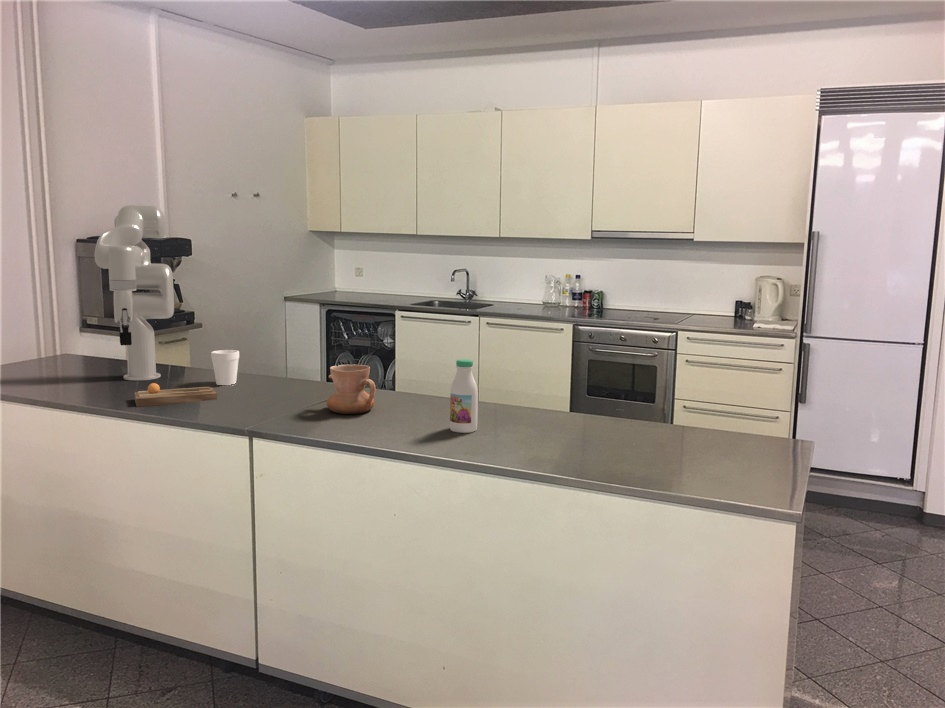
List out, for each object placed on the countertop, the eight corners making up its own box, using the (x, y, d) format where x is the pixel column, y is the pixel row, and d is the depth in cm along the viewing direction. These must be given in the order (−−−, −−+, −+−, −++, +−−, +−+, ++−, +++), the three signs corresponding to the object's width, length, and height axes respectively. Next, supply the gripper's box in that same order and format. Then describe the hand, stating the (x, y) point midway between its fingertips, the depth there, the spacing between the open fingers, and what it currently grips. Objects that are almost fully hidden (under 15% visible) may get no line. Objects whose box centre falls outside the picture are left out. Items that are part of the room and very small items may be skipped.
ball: (147, 393, 235) (147, 382, 235) (159, 392, 237) (159, 381, 236) (148, 395, 232) (147, 384, 231) (160, 394, 234) (159, 383, 233)
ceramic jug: (313, 412, 223) (313, 367, 222) (347, 405, 235) (346, 361, 233) (356, 421, 213) (356, 373, 211) (389, 412, 225) (389, 367, 223)
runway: (134, 399, 238) (134, 390, 237) (212, 394, 248) (211, 385, 248) (136, 406, 227) (136, 397, 227) (217, 400, 238) (216, 391, 237)
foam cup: (206, 388, 259) (205, 352, 257) (226, 384, 267) (225, 349, 265) (226, 391, 255) (225, 354, 253) (245, 386, 263) (244, 351, 261)
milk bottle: (461, 425, 210) (463, 357, 207) (482, 430, 205) (484, 360, 202) (444, 430, 204) (445, 360, 201) (465, 435, 199) (466, 363, 196)
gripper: (109, 284, 232) (112, 341, 234) (109, 287, 217) (113, 348, 220) (135, 284, 235) (137, 340, 238) (137, 287, 221) (140, 347, 223)
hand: (125, 343), depth 229 cm, fingers open, 3 cm apart
